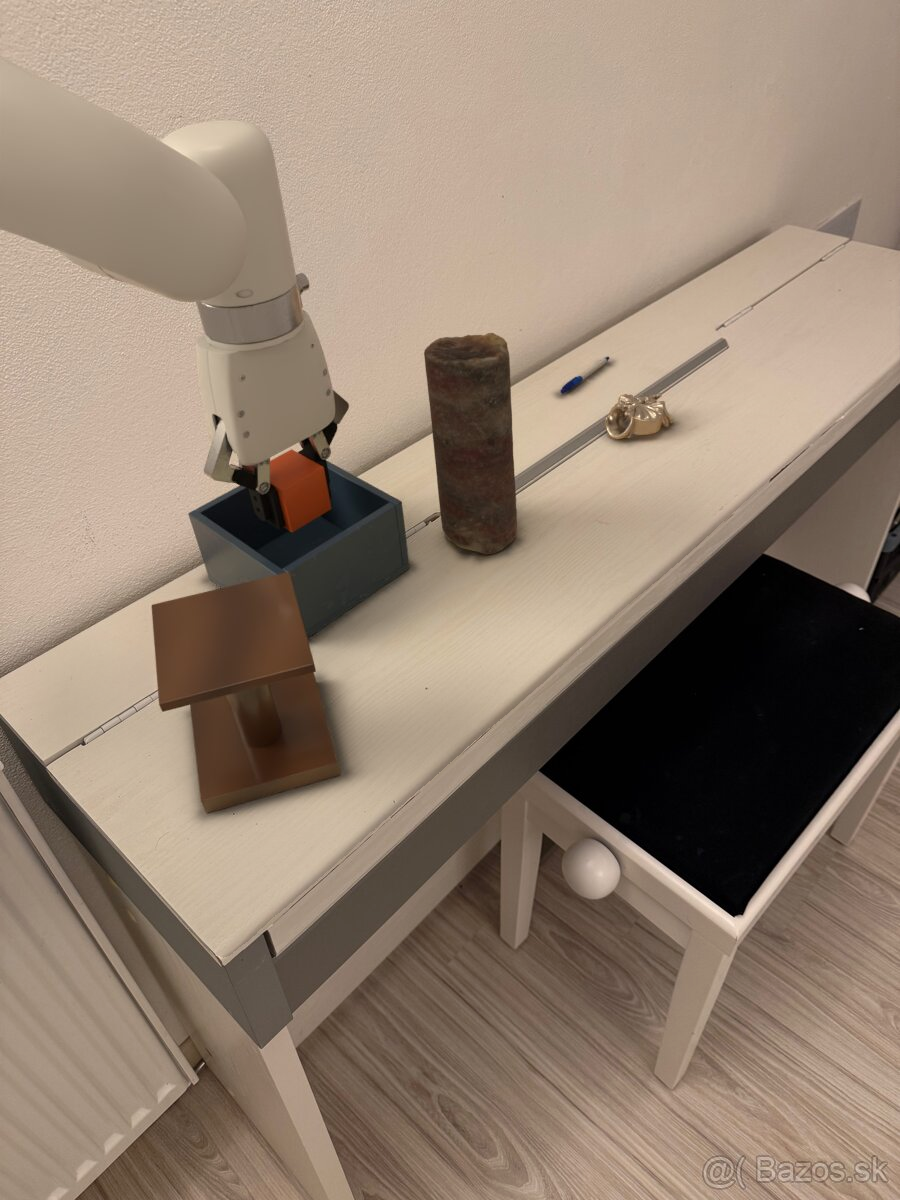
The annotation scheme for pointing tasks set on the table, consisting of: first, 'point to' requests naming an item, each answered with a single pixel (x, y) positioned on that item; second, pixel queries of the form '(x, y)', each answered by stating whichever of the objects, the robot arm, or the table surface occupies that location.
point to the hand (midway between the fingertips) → (295, 506)
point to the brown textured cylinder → (473, 439)
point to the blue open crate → (309, 547)
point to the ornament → (637, 416)
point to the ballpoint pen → (582, 376)
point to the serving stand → (244, 689)
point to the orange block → (299, 488)
